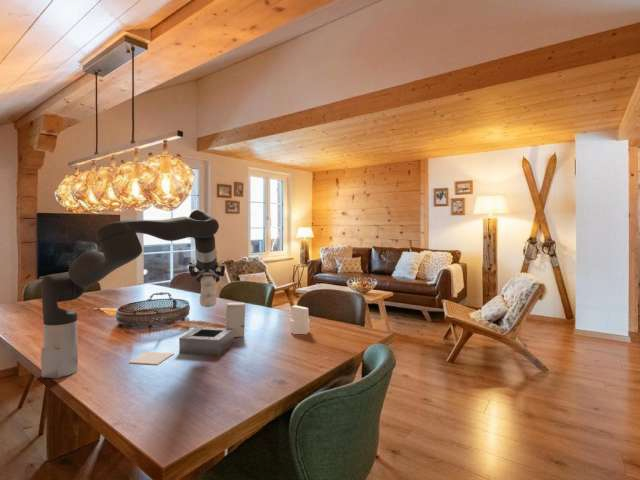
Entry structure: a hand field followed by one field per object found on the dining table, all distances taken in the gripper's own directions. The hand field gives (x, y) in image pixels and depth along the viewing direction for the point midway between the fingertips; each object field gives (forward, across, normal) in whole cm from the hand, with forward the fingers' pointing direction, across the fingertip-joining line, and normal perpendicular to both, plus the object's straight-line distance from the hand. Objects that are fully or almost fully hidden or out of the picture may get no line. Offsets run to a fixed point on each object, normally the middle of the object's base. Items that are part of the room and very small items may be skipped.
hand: (208, 280), depth 150 cm
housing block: (+18, 0, -20) cm, 27 cm away
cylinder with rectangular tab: (+29, +41, -10) cm, 51 cm away
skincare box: (+29, +11, -10) cm, 33 cm away
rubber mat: (+12, -19, -27) cm, 35 cm away
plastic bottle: (+6, 0, -9) cm, 11 cm away
